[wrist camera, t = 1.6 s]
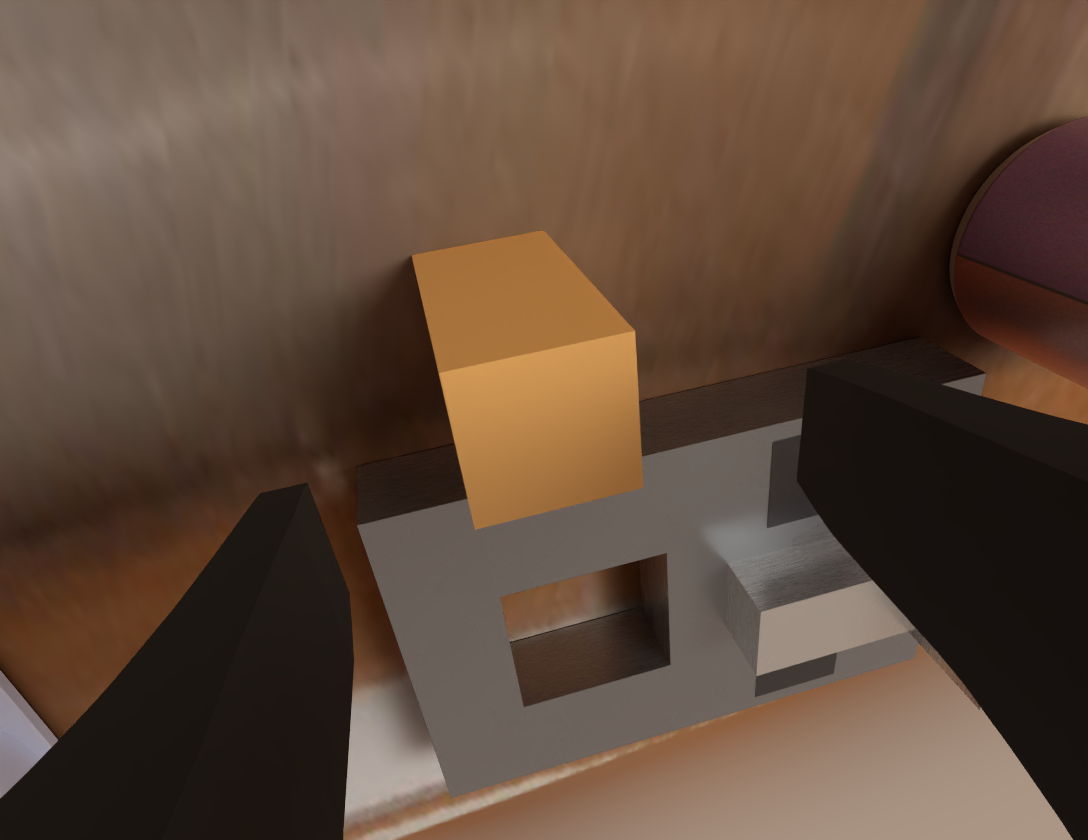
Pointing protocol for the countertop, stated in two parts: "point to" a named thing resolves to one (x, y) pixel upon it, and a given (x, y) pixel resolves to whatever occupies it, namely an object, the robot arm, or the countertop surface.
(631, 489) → the orange rectangular block
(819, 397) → the robot arm
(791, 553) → the bracket
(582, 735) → the rosette plate
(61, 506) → the countertop surface
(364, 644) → the countertop surface
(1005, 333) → the beverage can
